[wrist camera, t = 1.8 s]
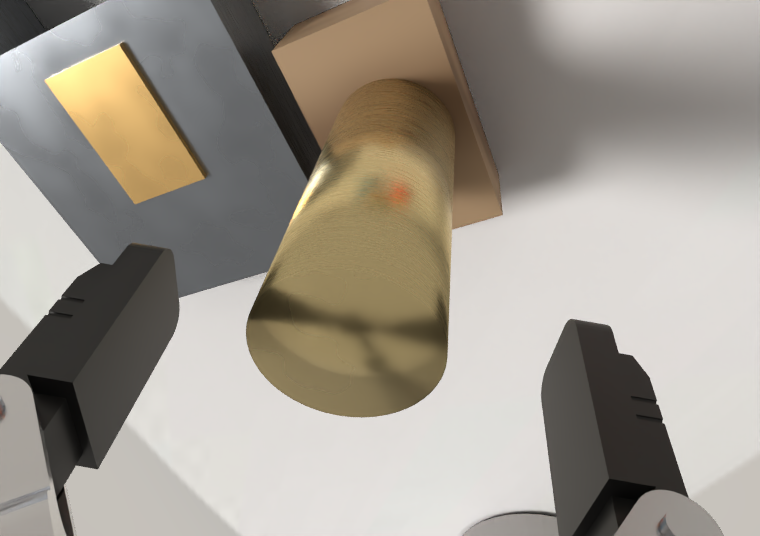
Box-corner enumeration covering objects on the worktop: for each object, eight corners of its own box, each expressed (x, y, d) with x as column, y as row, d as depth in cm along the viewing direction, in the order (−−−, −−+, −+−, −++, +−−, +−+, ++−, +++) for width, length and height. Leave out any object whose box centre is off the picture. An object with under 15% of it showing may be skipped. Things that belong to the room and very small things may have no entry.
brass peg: (471, 171, 20) (474, 398, 12) (364, 205, 21) (303, 430, 13) (430, 59, 18) (401, 243, 10) (314, 104, 19) (207, 299, 11)
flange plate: (355, 208, 25) (343, 251, 22) (165, 268, 28) (135, 312, 26) (51, -395, 15) (-31, -440, 13) (-187, -200, 18) (-291, -204, 16)
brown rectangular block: (498, 175, 23) (502, 214, 21) (382, 211, 25) (373, 252, 23) (427, -34, 19) (421, -14, 17) (293, 25, 21) (271, 51, 18)
